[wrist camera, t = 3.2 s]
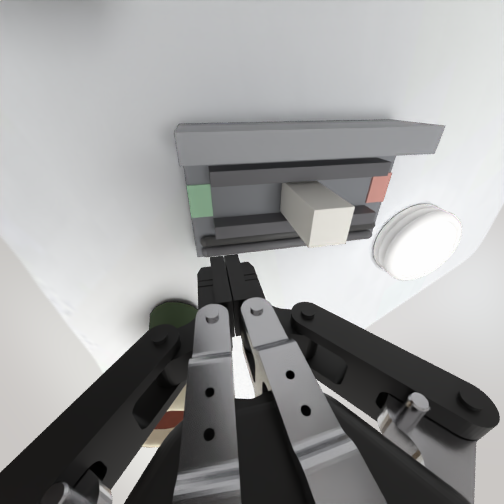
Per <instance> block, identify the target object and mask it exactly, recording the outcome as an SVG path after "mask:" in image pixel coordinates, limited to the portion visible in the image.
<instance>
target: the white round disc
mask: <svg viewBox="0 0 504 504" xmlns="http://www.w3.org/2000/svg"><path fill="white" fill-rule="evenodd" d="M461 235H462V225H461V222H460V220H459V218H458V217H456V216H455V215H454V214H452V213H450V212H447V211H445V210H443V209H441V208H438V207H437V206H435V205H430V204H419V205H415V206H412V207H409V208H407V209H405V210H403V211H402V212H400V213H399V214H397V215H396V216H394V217H393V218H392V219H391V220H390V221H389V222H388V223H387V224H386V225H385V226H384V227H383V229H382V230H381V232H380V233H379V235H378V237H377V239H376V241H375V244H374V251H373V253H374V258H375V260H376V262H377V264H378V265H379V266H380V267H382V268H383V269H384V270H385V271H386V272H388V273H389V275H390V276H392V277H393V278H395V279H398V280H403V281H408V280H414V279H418V278H421V277H423V276H426V275H428V274H429V273H431V272H433V271H434V270H436V269H437V268H439V267H440V266H441V265H442V264H443V263H444V262H445V261H447V260H448V258H449V257H450V256H451V255H452V254H453V252H454V251H455V249H456V248H457V246H458V244H459V242H460V239H461Z"/></svg>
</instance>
